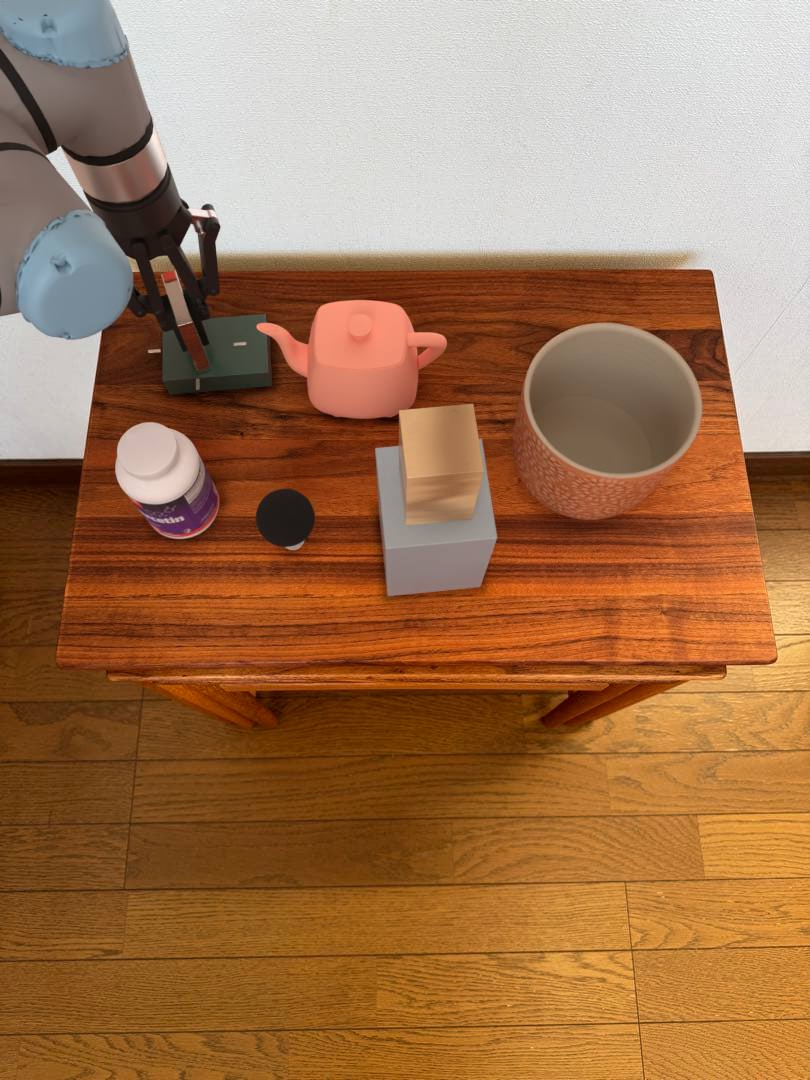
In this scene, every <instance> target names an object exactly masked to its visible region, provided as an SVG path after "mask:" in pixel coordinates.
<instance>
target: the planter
mask: <svg viewBox="0 0 810 1080" xmlns="http://www.w3.org/2000/svg"><path fill="white" fill-rule="evenodd" d="M702 420H703V398H702V392H701V389H700V386H699V383H698V380H697V378H696V376H695V374H694V371H693V370H692V369H691V367H690V365H689V364H688V363H687V361H686V360H685V359H684V358H683V356H681V354H680V353H679V352H678V351H677V350H676V349H675V348H673V346H672V345H670V344H669V343H667V342H666V341H664V340H663V339H662V338H660V337H658V336H656V335H655V334H652V333H650V332H649V331H646V330H643V329H641V328H639V327H635V326H631V325H627V324H622V323H616V322H615V323H614V322H595V323H594V322H593V323H587V324H581V325H579V326H575V327H572V328H570V329H568V330H564V331H563V332H561V333H559V334H558V335H557V334H556V336H554V337H552V338H551V339H550V340H549V341H547V343H545V344H544V345H543V346H542V347H541V348H540V349H539V351H538V352H537V353H536V354H535V355H534V357H533V358H532V360H531V362H530V364H529V366H528V369H527V371H526V374H525V377H524V380H523V384H522V388H521V391H520V395H519V402H518V405H517V410H516V414H515V420H514V425H513V432H512V454H513V455H512V456H513V462H514V464H515V467H516V471H517V473H518V476H519V478H520V480H521V482H522V484H523V486H525V488H526V489H527V491H528V492H529V493H530V494H531V495H532V496H533V497H534V498H535V499H536V500H537V501H538V502H539V503H540V504H542V505H543V506H544V507H546V508H548V509H549V510H551V511H552V512H555V513H557V514H559V515H561V516H564V517H568V518H572V519H577V520H582V521H583V520H584V521H596V520H604V519H610V518H613V517H616V516H619V515H621V514H623V513H624V514H625V513H626V512H628V511H630V510H631V509H632V508H634V507H636V506H638V505H639V504H640V503H641V502H643V501H644V500H645V499H646V498H648V496H649V495H651V493H653V492H654V491H655V489H657V488H658V486H659V485H660V484H661V483H662V482H663V481H664V480H665V479H666V477H667V476H668V475H669V474H670V472H671V471H672V470H673V469H674V468H675V467H676V466H677V464H678V463H679V462H680V461H681V460H682V458H683V457H684V456H685V455H686V453H687V452H688V451H689V449H690V448H691V447H692V445H693V444H694V442H695V440H696V438H697V436H698V433H699V431H700V428H701V425H702Z"/></svg>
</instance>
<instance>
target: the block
mask: <svg viewBox="0 0 810 1080" xmlns="http://www.w3.org/2000/svg"><path fill="white" fill-rule="evenodd" d="M477 424H478V423H477V419H476V411H475V404H474V403H467V404H454V405H444V406H431V407H421V408H409V409H407V410H399V414H398V446H399V472H400V481H401V490H402V499H403V508H404V516H405V525H416V524H426V523H437V522H448V521H458V520H469V519H472V517H473V513H474V509H475V505H476V501H477V497H478V492H479V488H480V484H481V480H482V476H483V472H484V469H483V462H482V456H481V450H480V443H479V439H480V437H479V432H478V425H477Z"/></svg>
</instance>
